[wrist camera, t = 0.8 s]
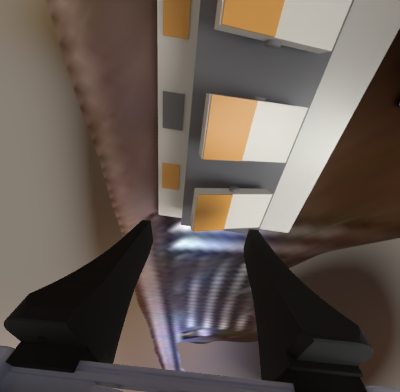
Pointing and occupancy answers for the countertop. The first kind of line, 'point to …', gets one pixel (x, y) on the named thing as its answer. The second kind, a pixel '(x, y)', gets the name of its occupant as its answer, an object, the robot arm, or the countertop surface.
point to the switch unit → (259, 87)
